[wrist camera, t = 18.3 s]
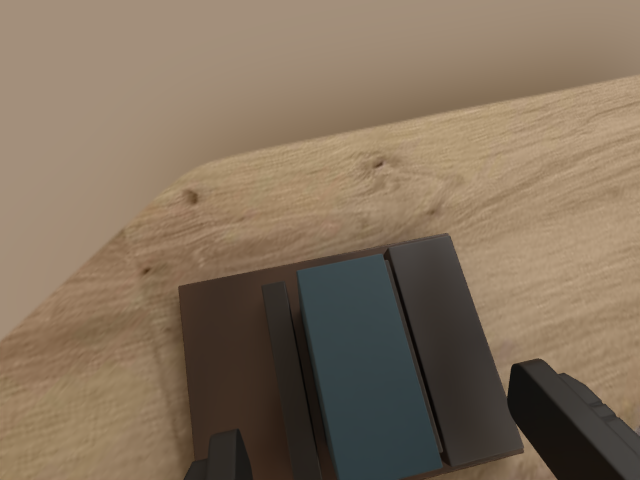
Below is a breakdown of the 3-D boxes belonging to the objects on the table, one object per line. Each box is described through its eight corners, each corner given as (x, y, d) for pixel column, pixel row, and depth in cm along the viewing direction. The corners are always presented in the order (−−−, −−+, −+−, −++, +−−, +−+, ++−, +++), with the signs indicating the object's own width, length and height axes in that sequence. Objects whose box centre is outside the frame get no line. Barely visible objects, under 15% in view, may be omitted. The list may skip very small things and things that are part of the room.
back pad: (355, 295, 21) (382, 252, 14) (389, 431, 19) (443, 468, 12) (299, 307, 21) (295, 270, 13) (327, 446, 19) (341, 495, 11)
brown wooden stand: (440, 240, 24) (464, 216, 20) (509, 447, 20) (556, 463, 17) (185, 291, 23) (161, 274, 19) (209, 526, 19) (185, 564, 15)
